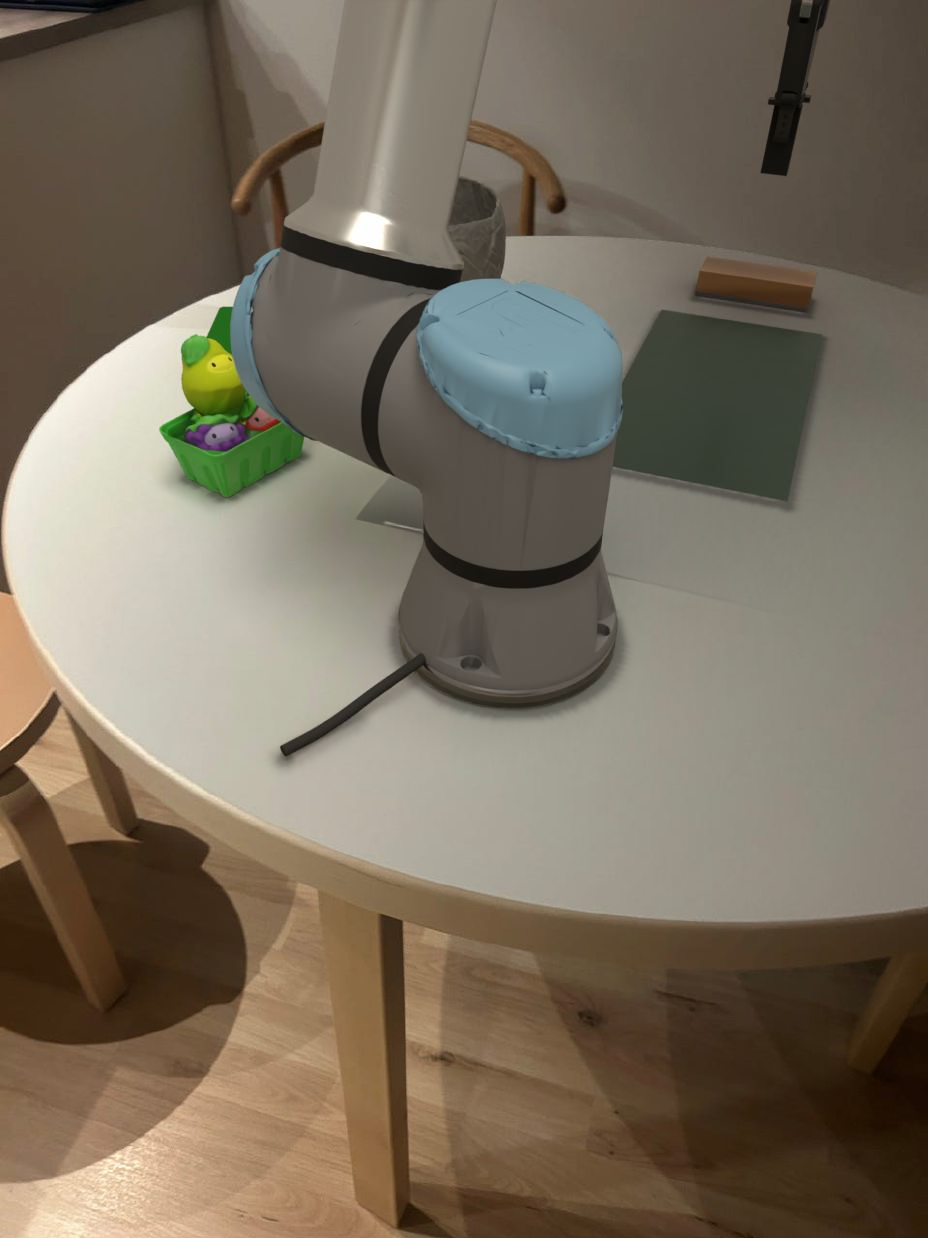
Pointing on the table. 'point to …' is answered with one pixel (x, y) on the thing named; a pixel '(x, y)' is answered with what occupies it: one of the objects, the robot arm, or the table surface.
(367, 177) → the robot arm
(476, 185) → the bowl
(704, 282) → the board eraser
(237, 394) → the fruit basket
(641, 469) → the chalkboard
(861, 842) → the table surface
